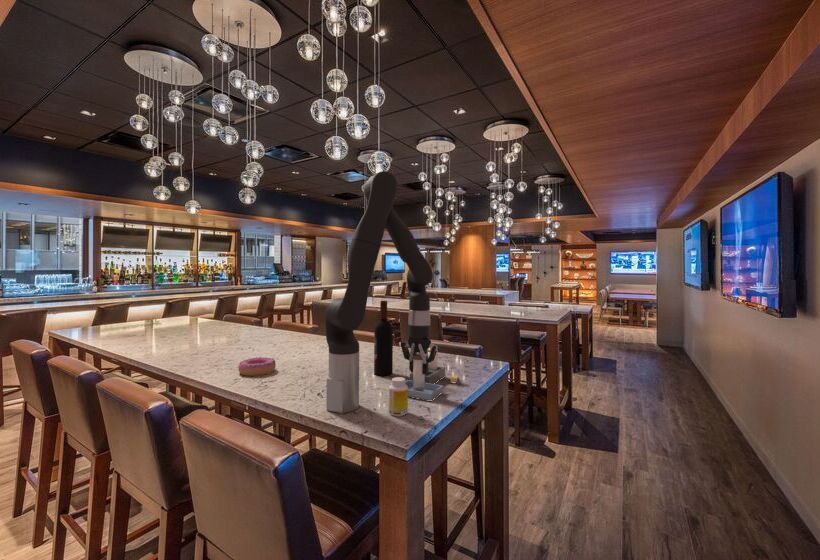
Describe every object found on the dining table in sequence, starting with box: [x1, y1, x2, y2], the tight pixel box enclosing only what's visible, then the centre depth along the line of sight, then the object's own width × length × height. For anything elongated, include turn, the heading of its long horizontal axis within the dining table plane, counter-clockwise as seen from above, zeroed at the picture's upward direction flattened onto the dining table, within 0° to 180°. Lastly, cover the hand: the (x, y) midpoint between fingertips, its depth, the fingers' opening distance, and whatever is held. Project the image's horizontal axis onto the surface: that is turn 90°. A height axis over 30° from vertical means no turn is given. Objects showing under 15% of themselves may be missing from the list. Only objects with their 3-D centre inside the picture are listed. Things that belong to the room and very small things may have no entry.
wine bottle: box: [373, 300, 394, 378], centre depth 148 cm, size 8×8×30 cm
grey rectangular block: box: [409, 366, 446, 384], centre depth 139 cm, size 15×8×4 cm, turn 152°
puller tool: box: [450, 374, 458, 383], centre depth 140 cm, size 8×2×1 cm, turn 172°
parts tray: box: [405, 379, 444, 401], centre depth 124 cm, size 14×10×2 cm
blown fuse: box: [413, 353, 425, 391], centre depth 124 cm, size 4×4×12 cm
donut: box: [237, 356, 277, 377], centre depth 150 cm, size 14×14×5 cm
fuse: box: [428, 347, 439, 371], centre depth 143 cm, size 4×4×12 cm
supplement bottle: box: [388, 376, 409, 417], centre depth 107 cm, size 6×6×10 cm
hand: (418, 372), depth 124 cm, fingers closed on blown fuse, 4 cm apart
